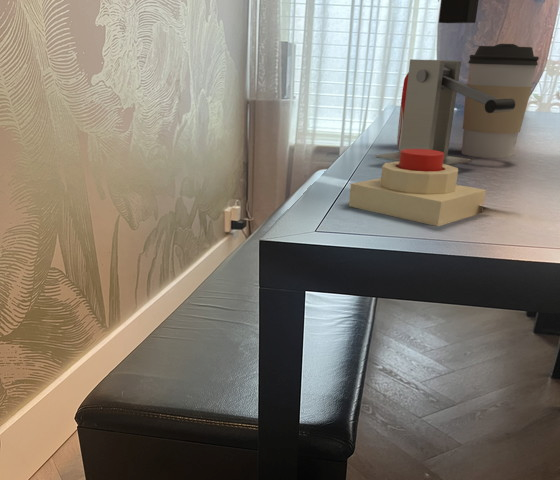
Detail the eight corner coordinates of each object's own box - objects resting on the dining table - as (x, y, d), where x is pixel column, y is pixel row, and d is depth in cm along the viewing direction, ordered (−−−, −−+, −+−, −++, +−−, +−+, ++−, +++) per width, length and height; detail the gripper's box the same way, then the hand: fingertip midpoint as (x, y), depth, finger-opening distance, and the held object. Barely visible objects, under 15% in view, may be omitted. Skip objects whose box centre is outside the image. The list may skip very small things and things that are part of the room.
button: (449, 172, 57) (452, 152, 56) (426, 176, 55) (429, 156, 54) (413, 166, 60) (415, 147, 59) (389, 170, 57) (391, 151, 56)
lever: (510, 117, 74) (519, 97, 73) (490, 119, 71) (500, 98, 70) (432, 81, 80) (439, 62, 78) (410, 82, 77) (417, 62, 75)
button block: (482, 213, 58) (490, 170, 56) (437, 227, 53) (444, 179, 51) (395, 196, 64) (400, 156, 62) (348, 206, 59) (351, 164, 57)
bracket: (470, 168, 81) (487, 61, 75) (438, 175, 76) (454, 60, 70) (407, 158, 88) (419, 59, 82) (374, 164, 82) (384, 58, 76)
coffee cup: (517, 168, 83) (542, 43, 76) (450, 162, 85) (468, 41, 78) (518, 159, 90) (541, 44, 83) (456, 154, 93) (473, 43, 86)
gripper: (502, -320, 48) (456, 26, 59) (409, -400, 39) (376, 20, 50) (601, -358, 43) (531, 25, 54) (519, -458, 35) (456, 18, 46)
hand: (456, 22), depth 52 cm, fingers closed
